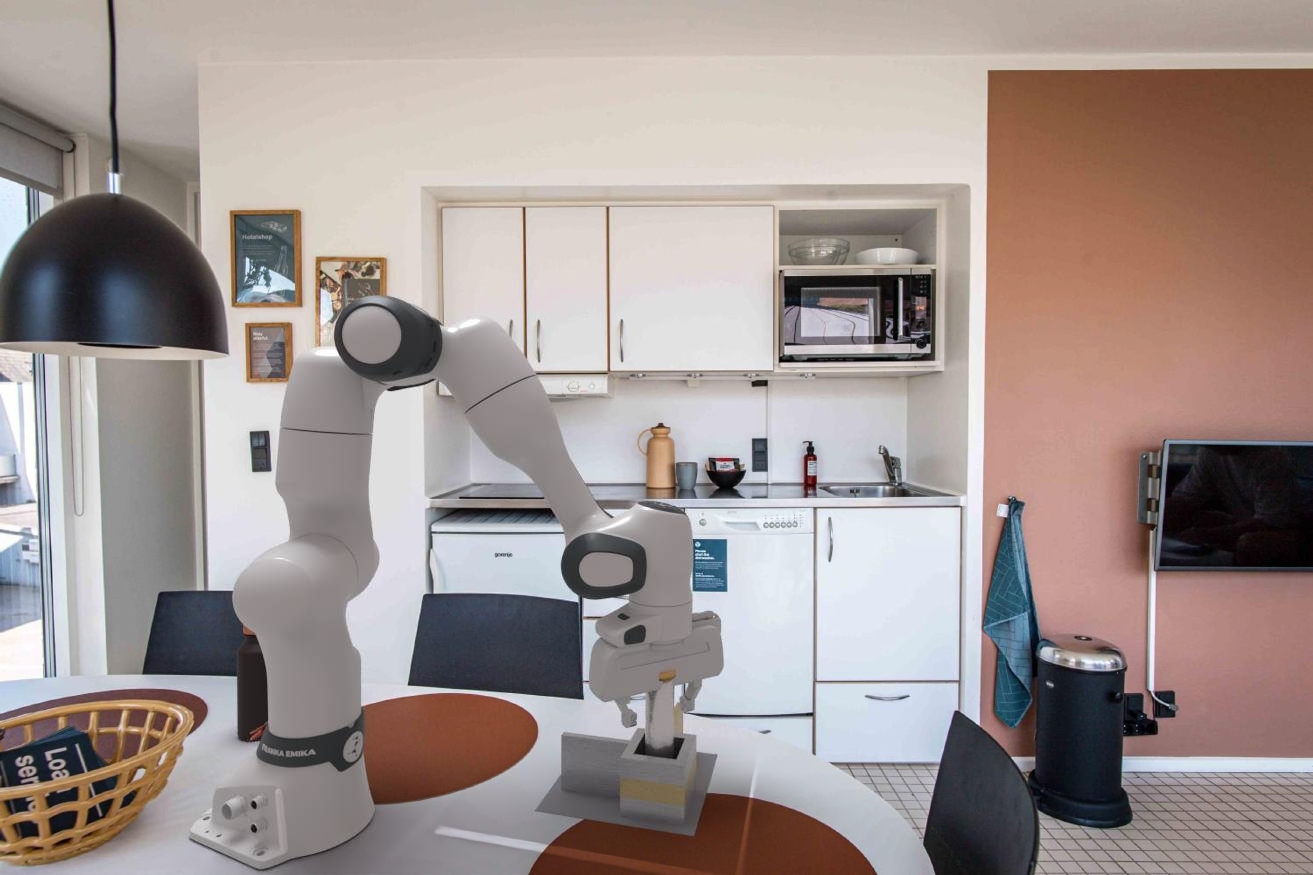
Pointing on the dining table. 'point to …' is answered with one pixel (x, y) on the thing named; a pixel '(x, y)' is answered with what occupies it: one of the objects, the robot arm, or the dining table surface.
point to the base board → (610, 807)
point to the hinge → (633, 773)
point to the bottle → (251, 687)
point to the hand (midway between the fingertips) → (658, 717)
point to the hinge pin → (660, 719)
